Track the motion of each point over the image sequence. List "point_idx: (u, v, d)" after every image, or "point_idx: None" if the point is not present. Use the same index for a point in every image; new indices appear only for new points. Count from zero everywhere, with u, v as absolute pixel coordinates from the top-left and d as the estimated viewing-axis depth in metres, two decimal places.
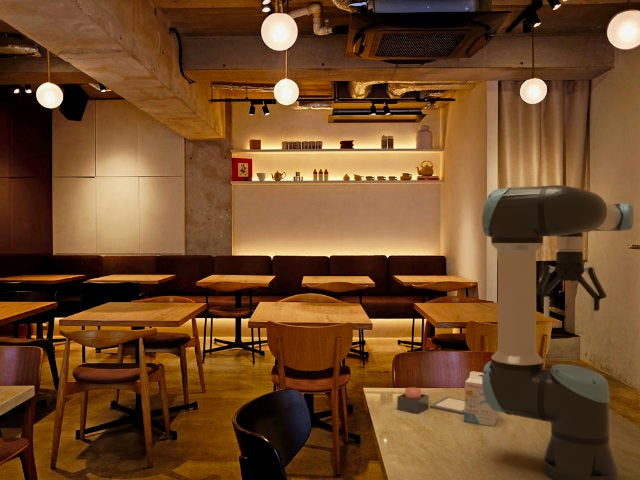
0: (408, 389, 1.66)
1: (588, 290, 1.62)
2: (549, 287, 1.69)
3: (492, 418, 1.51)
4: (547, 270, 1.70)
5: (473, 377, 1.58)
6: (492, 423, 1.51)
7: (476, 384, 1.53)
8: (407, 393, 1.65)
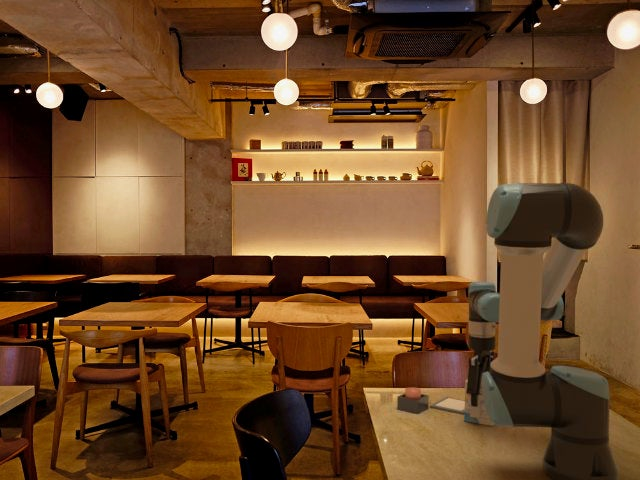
0: (408, 389, 1.66)
1: None
2: None
3: None
4: None
5: None
6: (492, 423, 1.51)
7: None
8: (407, 393, 1.65)
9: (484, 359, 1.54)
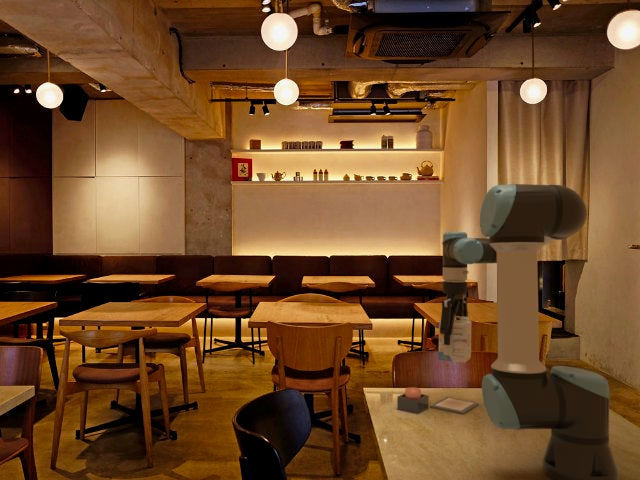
0: (408, 389, 1.66)
1: None
2: None
3: (463, 355, 1.64)
4: None
5: None
6: (463, 360, 1.64)
7: None
8: (407, 393, 1.65)
9: (456, 302, 1.66)
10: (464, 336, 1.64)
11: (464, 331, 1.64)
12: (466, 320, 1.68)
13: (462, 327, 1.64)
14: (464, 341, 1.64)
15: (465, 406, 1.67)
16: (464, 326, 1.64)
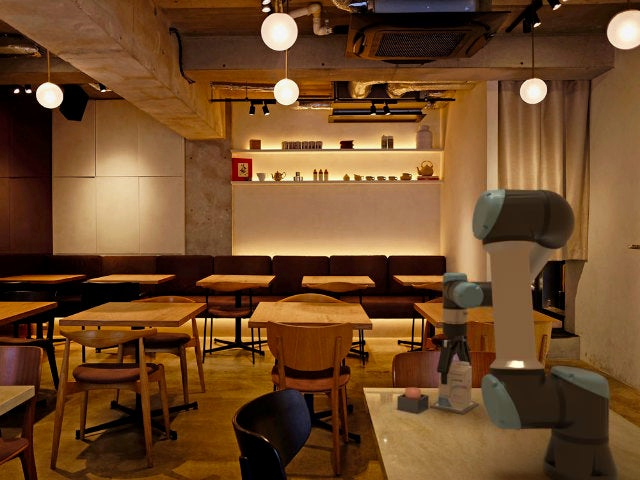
0: (408, 389, 1.66)
1: None
2: None
3: (463, 402, 1.64)
4: None
5: None
6: (463, 406, 1.64)
7: (449, 370, 1.66)
8: (407, 393, 1.65)
9: (456, 343, 1.66)
10: (464, 383, 1.64)
11: (464, 378, 1.64)
12: (466, 365, 1.68)
13: (462, 373, 1.64)
14: (464, 388, 1.64)
15: None
16: (464, 373, 1.64)
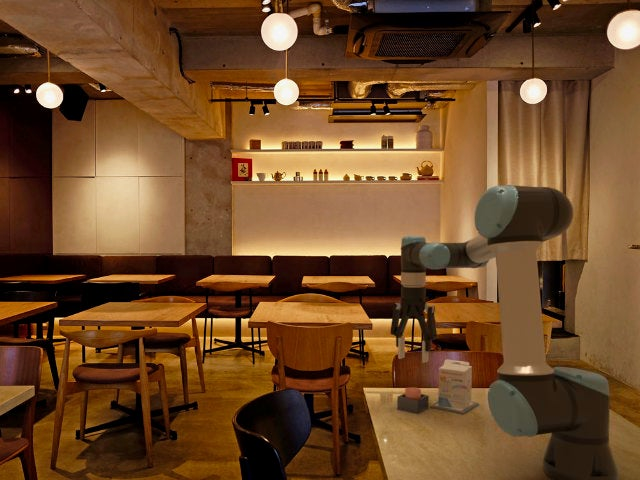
0: (408, 389, 1.66)
1: (422, 329, 1.63)
2: (400, 326, 1.68)
3: (463, 402, 1.64)
4: (394, 308, 1.69)
5: (447, 364, 1.70)
6: (463, 406, 1.64)
7: (449, 370, 1.66)
8: (407, 393, 1.65)
9: None
10: (464, 383, 1.64)
11: (464, 378, 1.64)
12: (466, 365, 1.68)
13: (462, 373, 1.64)
14: (464, 388, 1.64)
15: None
16: (464, 373, 1.64)
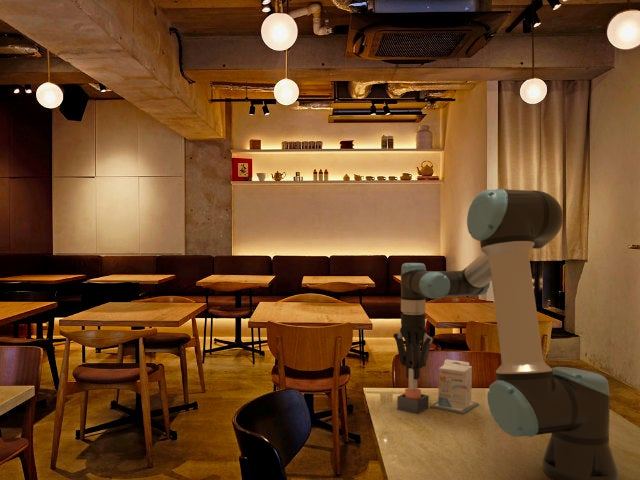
0: (408, 389, 1.66)
1: (414, 357, 1.65)
2: (407, 355, 1.66)
3: (463, 402, 1.64)
4: (396, 337, 1.68)
5: (447, 364, 1.70)
6: (463, 406, 1.64)
7: (449, 370, 1.66)
8: (407, 394, 1.65)
9: None
10: (464, 383, 1.64)
11: (464, 378, 1.64)
12: (466, 365, 1.68)
13: (462, 373, 1.64)
14: (464, 388, 1.64)
15: None
16: (464, 373, 1.64)
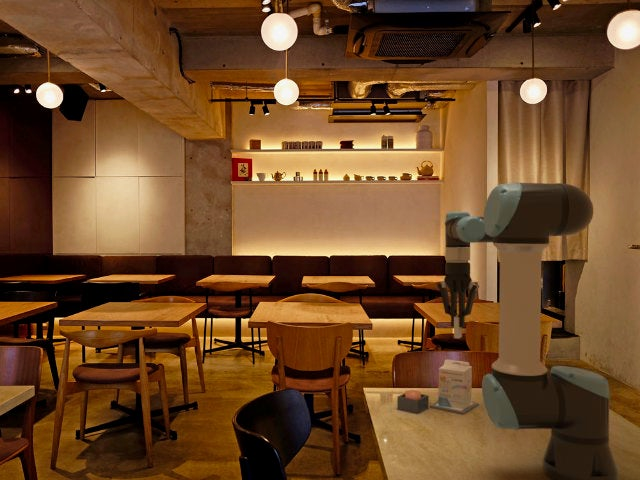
0: (408, 392, 1.66)
1: (460, 305, 1.65)
2: (452, 304, 1.67)
3: (463, 402, 1.64)
4: (440, 287, 1.69)
5: (447, 364, 1.70)
6: (463, 406, 1.64)
7: (449, 370, 1.66)
8: (407, 396, 1.65)
9: None
10: (464, 383, 1.64)
11: (464, 378, 1.64)
12: (466, 365, 1.68)
13: (462, 373, 1.64)
14: (464, 388, 1.64)
15: None
16: (464, 373, 1.64)
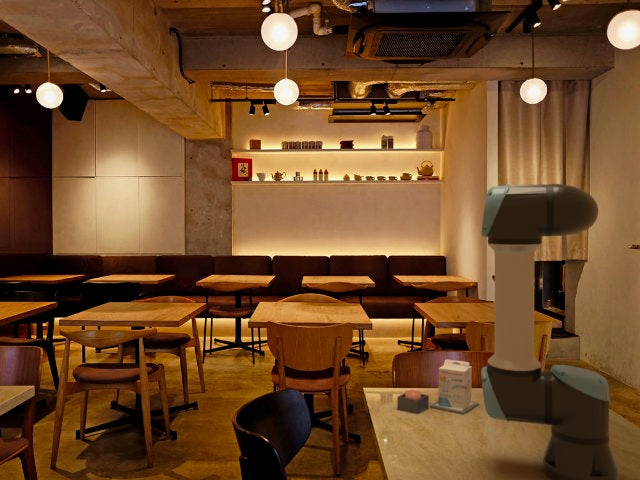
0: (408, 392, 1.66)
1: None
2: None
3: (463, 402, 1.64)
4: None
5: (447, 364, 1.70)
6: (463, 406, 1.64)
7: (449, 370, 1.66)
8: (407, 396, 1.65)
9: None
10: (464, 383, 1.64)
11: (464, 378, 1.64)
12: (466, 365, 1.68)
13: (462, 373, 1.64)
14: (464, 388, 1.64)
15: None
16: (464, 373, 1.64)
